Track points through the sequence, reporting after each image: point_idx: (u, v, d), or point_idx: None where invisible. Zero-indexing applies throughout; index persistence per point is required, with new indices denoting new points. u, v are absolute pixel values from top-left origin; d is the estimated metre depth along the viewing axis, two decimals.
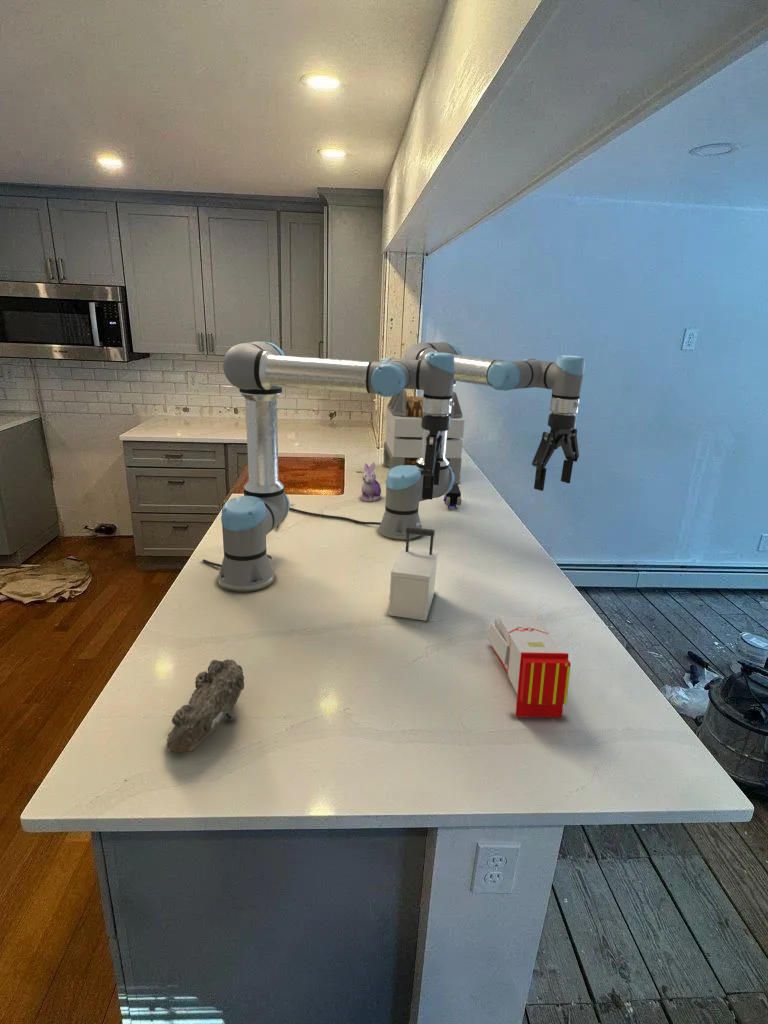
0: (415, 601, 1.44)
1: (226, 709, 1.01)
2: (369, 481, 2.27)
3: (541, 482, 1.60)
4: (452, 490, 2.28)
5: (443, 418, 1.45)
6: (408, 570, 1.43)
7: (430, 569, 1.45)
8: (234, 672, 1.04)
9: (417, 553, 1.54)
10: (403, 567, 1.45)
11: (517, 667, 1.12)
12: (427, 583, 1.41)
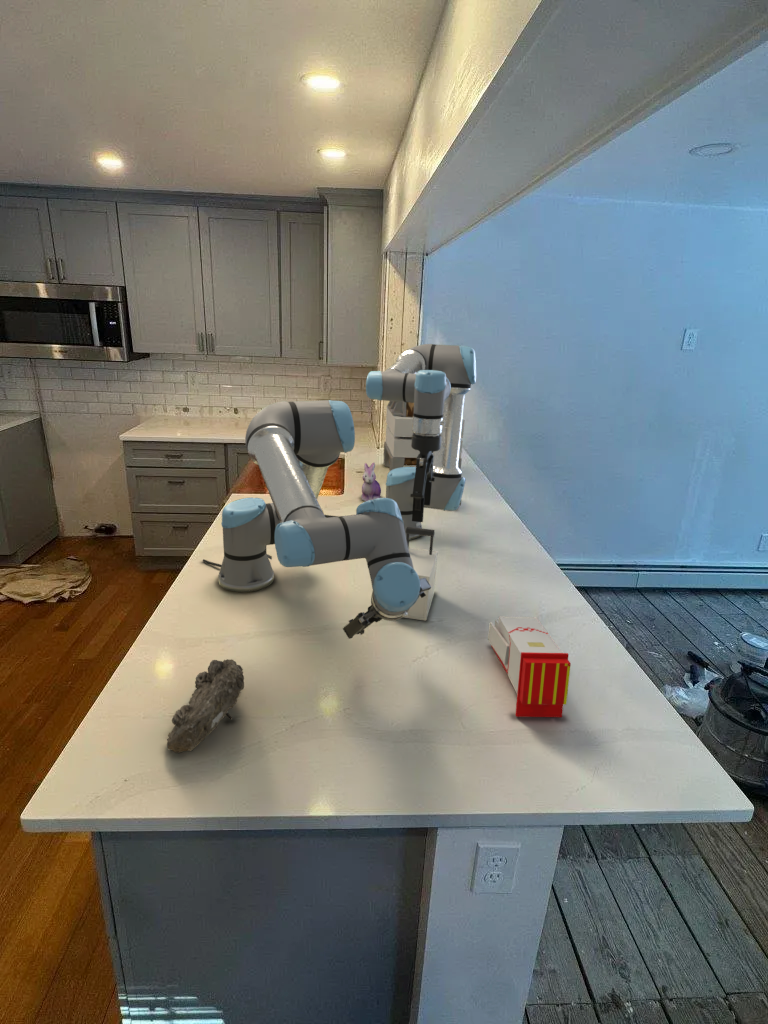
0: None
1: (226, 709, 1.01)
2: (369, 481, 2.27)
3: (421, 513, 1.43)
4: None
5: (384, 616, 1.04)
6: None
7: (430, 569, 1.45)
8: (234, 672, 1.04)
9: (417, 553, 1.54)
10: None
11: (517, 667, 1.12)
12: None
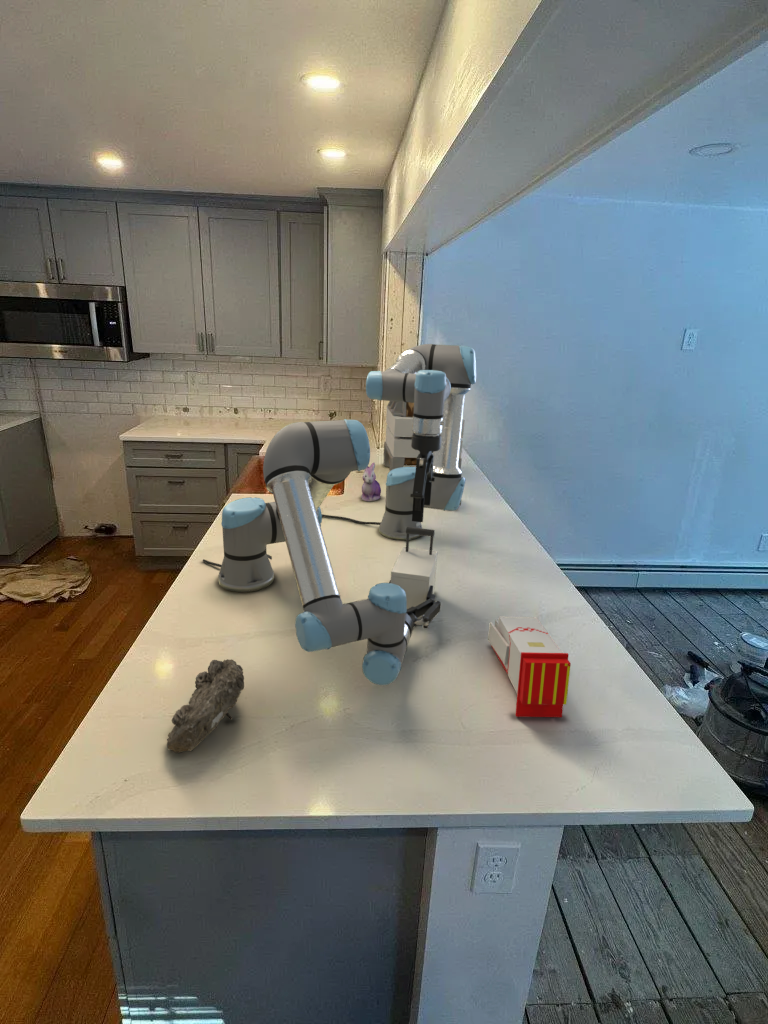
0: (415, 601, 1.44)
1: (226, 709, 1.01)
2: (369, 481, 2.27)
3: (421, 513, 1.43)
4: None
5: None
6: (408, 570, 1.43)
7: (430, 569, 1.45)
8: (234, 672, 1.04)
9: (417, 553, 1.54)
10: (403, 567, 1.45)
11: (517, 667, 1.12)
12: (427, 583, 1.41)
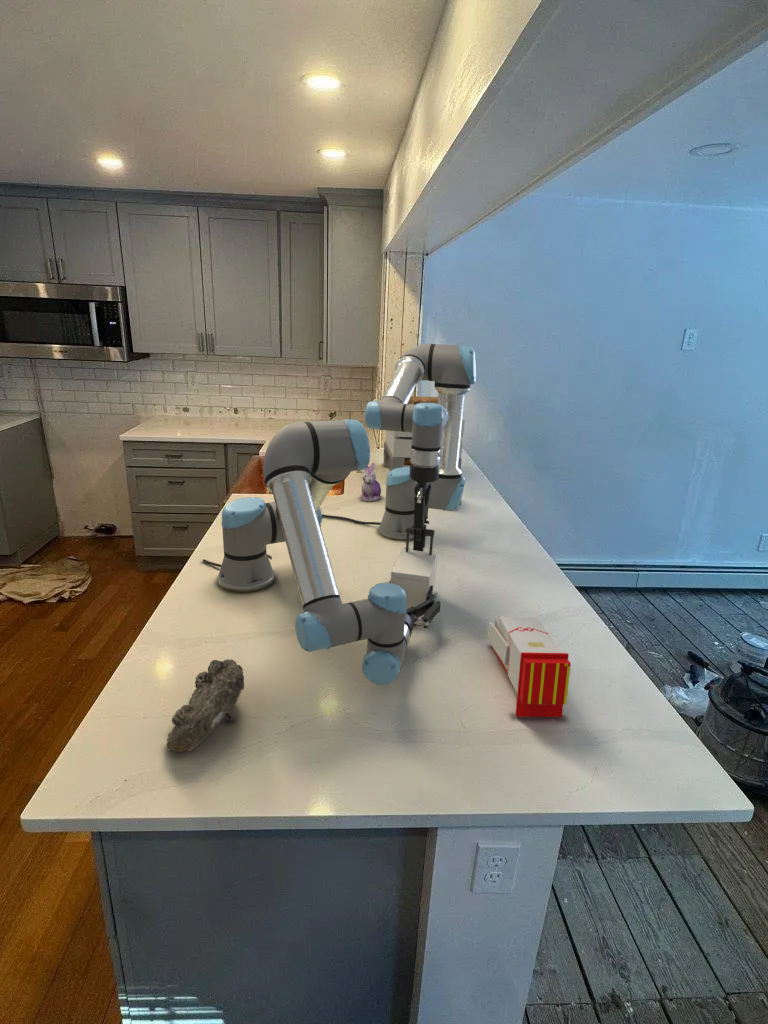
0: (415, 601, 1.44)
1: (226, 709, 1.01)
2: (369, 481, 2.27)
3: (421, 543, 1.51)
4: None
5: None
6: (408, 570, 1.43)
7: (430, 569, 1.45)
8: (234, 672, 1.04)
9: (417, 553, 1.54)
10: (403, 567, 1.45)
11: (517, 667, 1.12)
12: (427, 583, 1.41)
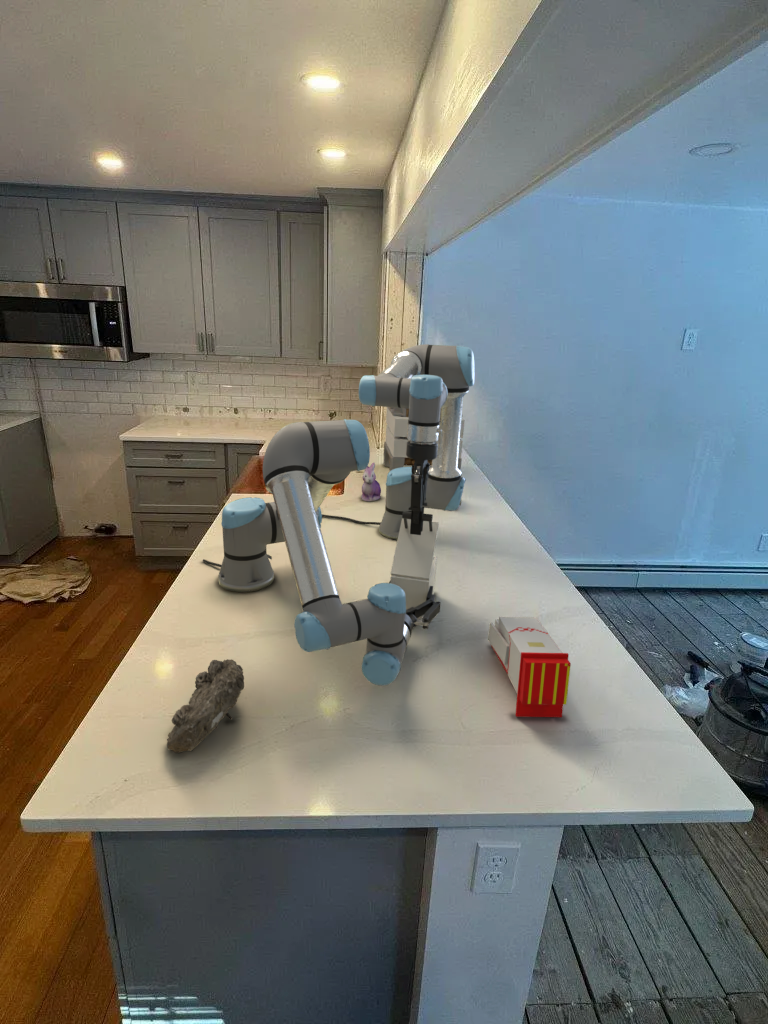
0: (415, 602, 1.44)
1: (226, 709, 1.01)
2: (369, 481, 2.27)
3: (419, 526, 1.42)
4: None
5: None
6: (407, 569, 1.42)
7: (430, 563, 1.42)
8: (234, 672, 1.04)
9: None
10: (402, 563, 1.43)
11: (517, 667, 1.12)
12: (427, 584, 1.41)
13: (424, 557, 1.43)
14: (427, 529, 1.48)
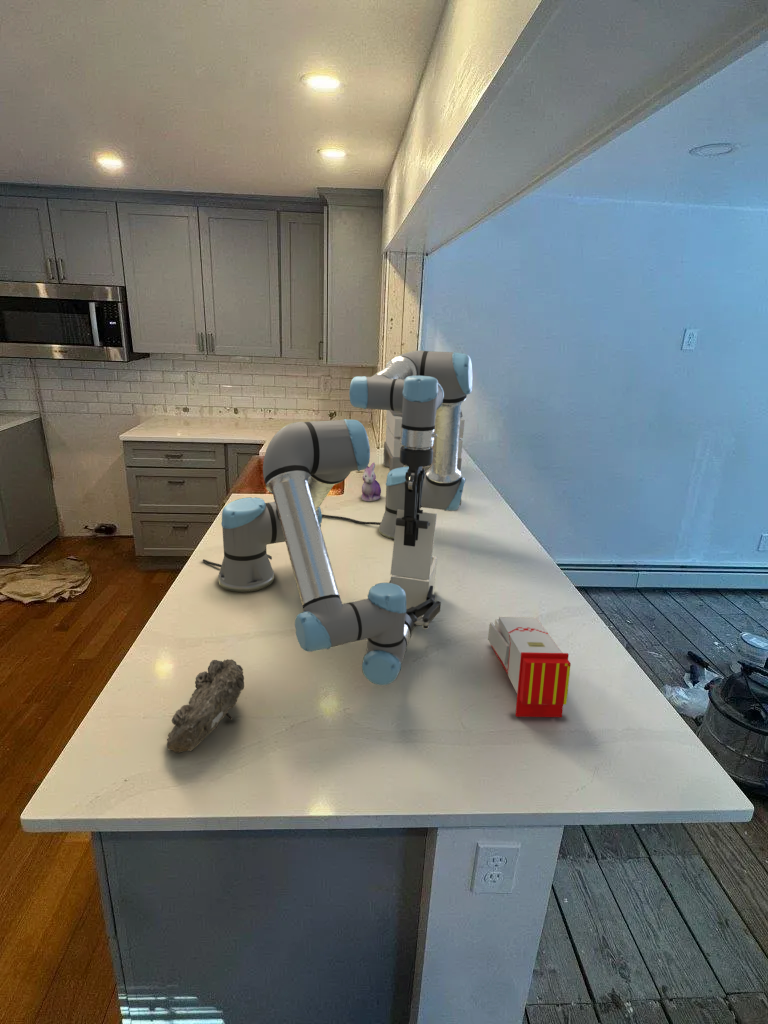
0: (415, 602, 1.44)
1: (226, 709, 1.01)
2: (369, 481, 2.27)
3: (413, 537, 1.33)
4: None
5: None
6: (407, 570, 1.41)
7: (429, 562, 1.40)
8: (234, 672, 1.04)
9: None
10: (401, 563, 1.41)
11: (517, 667, 1.12)
12: (427, 583, 1.41)
13: (423, 556, 1.40)
14: None
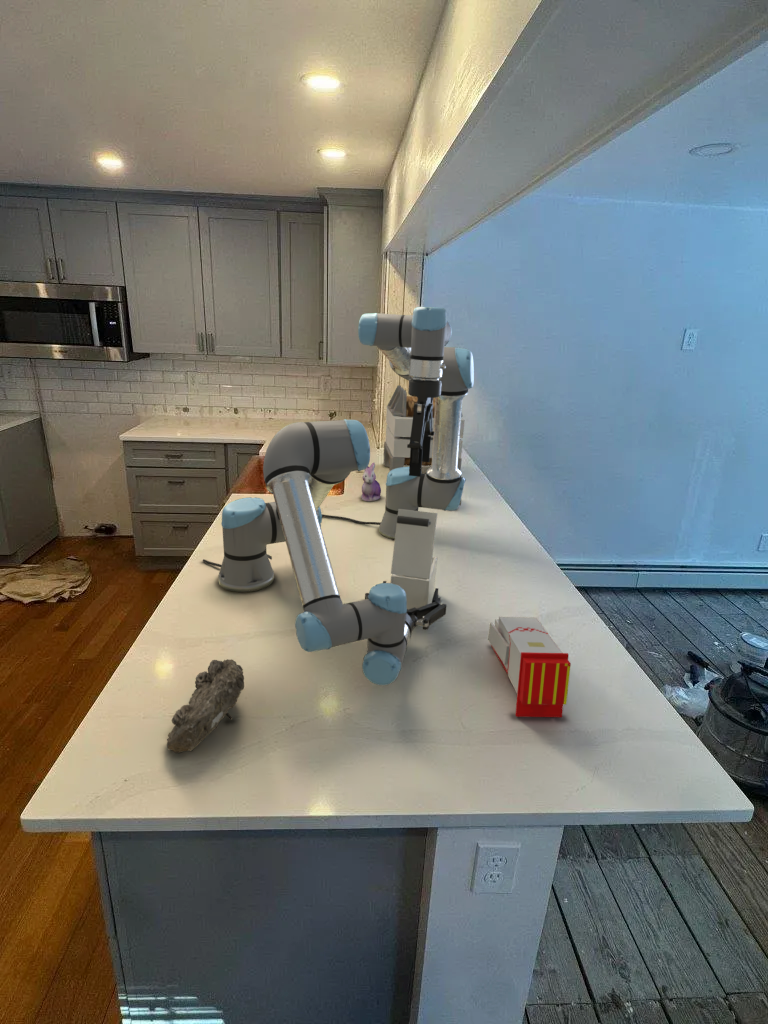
0: (415, 601, 1.44)
1: (226, 709, 1.01)
2: (369, 481, 2.27)
3: (419, 466, 1.29)
4: None
5: None
6: (407, 569, 1.41)
7: (429, 561, 1.40)
8: (234, 672, 1.04)
9: None
10: (402, 562, 1.42)
11: (517, 667, 1.12)
12: (427, 583, 1.41)
13: (423, 555, 1.41)
14: None
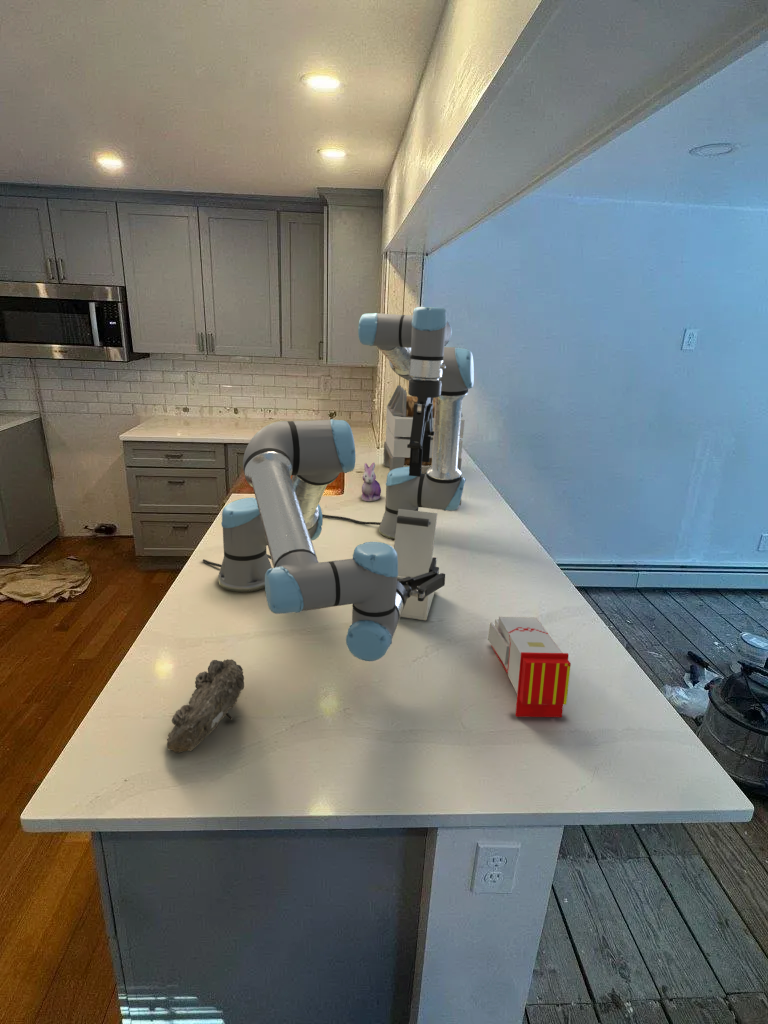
0: (415, 601, 1.44)
1: (226, 709, 1.01)
2: (369, 481, 2.27)
3: (419, 466, 1.29)
4: None
5: None
6: (407, 569, 1.41)
7: (429, 561, 1.40)
8: (234, 672, 1.04)
9: None
10: (402, 562, 1.42)
11: (517, 667, 1.12)
12: None
13: (423, 555, 1.41)
14: None
